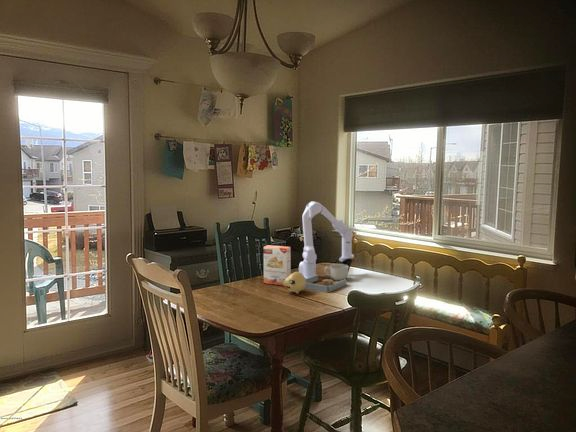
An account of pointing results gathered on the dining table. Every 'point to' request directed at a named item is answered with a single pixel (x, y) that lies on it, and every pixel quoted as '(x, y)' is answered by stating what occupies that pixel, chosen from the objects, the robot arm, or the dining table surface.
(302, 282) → the yellow lumpy rounded piece
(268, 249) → the cracker box
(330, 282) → the walnut block
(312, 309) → the dining table surface
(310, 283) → the gray open frame
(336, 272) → the teacup
